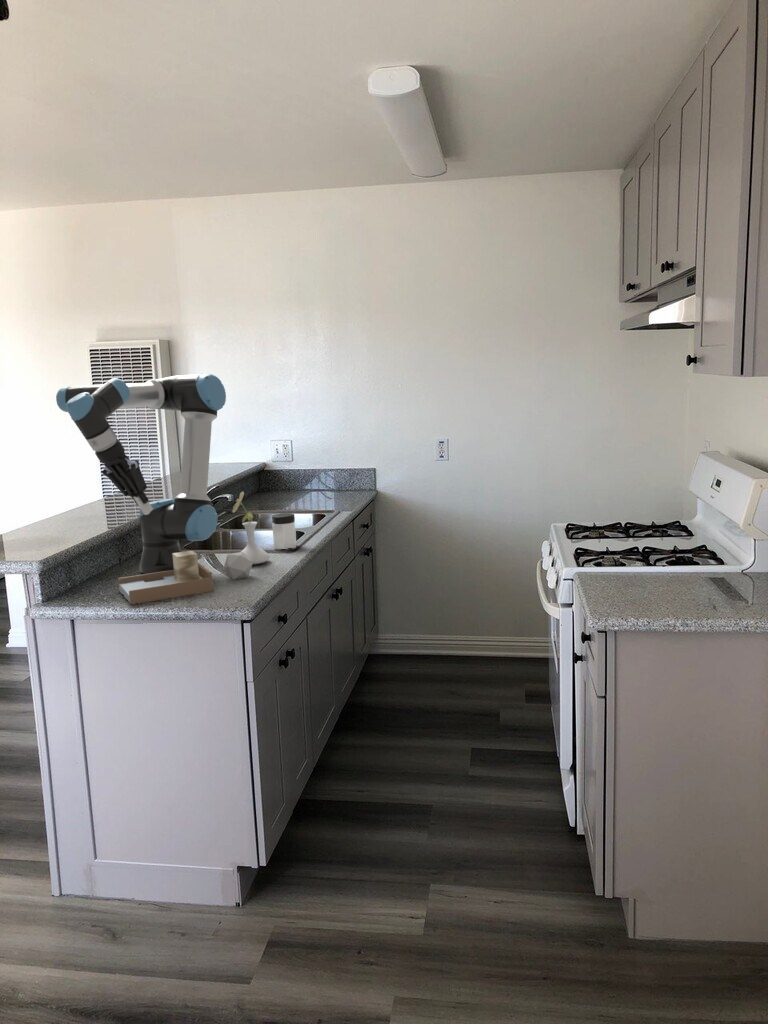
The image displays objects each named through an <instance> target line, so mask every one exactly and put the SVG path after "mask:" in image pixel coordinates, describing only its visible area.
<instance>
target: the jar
mask: <svg viewBox="0 0 768 1024" xmlns="http://www.w3.org/2000/svg"><path fill="white" fill-rule="evenodd" d="M295 519H296V518H295V513H292V512H289V513H288V512H284V513H283V512H281V513H276V514H272V515H271V522H272V524H271V525H272V537H273V538H272V539H273V549H274V550H281V549H286V548H289V547H290V548H292V549H296V548H297V533H296V522H295ZM286 550H287V549H286Z"/></svg>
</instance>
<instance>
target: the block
mask: <svg viewBox="0 0 768 1024" xmlns="http://www.w3.org/2000/svg"><path fill="white" fill-rule="evenodd" d="M172 555H173V566H174V576H175V580H177V581H178V582H185V581H192V580H198V579H199V570H198V563H199V561H198V554H197V553H196V552H195V551H194V550H187V551H182V552H178V553H172Z"/></svg>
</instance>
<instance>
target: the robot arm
mask: <svg viewBox="0 0 768 1024" xmlns="http://www.w3.org/2000/svg"><path fill="white" fill-rule="evenodd" d="M226 393H227V392H226V388H225V386H224V384H223V383H222V381H221V379H220V378H219V377H217V376H216V375H214V374H212V373H211V374H210V373H208V374H207V373H199V374H198V373H197V374H195V373H194V374H184V375H182V374H181V375H178V374H177V375H171V376H167V377H162V378H156V379H149V380H147V381H145V382H138V383H126V382H124V381H123V380H122V379H120V378H116V377H115V378H113V377H112V378H111V379H109V380H106V382H105V383H104V384H94V385H93V384H90V385H68V386H63V387H61V388H60V389H58V390H57V392H56V396H55V397H56V398H55V399H56V400H55V401H56V405H57V407H58V408H59V409H60V410H61V411H62V412H65V413H68V415H69V417H70V419H71V420H72V421H73V422H74V424H75V425H76V427H77V429H78V430H79V431H80V433H81V434H82V436H83V437H84V439H85V440H86V442H87V443H88V445H89V447H90V448H91V449H92V451H94V454H95V456H96V458H97V459H98V460H99V462H100V463H101V464H104V469H103V470H102V471H101V473H102V474H103V476H105V477H107V478H108V479H109V480H110V481H111V483H112V484H113V485H114V486H115V487H116V488H117V489H118V490H119V491H120V492H121V494H122V495H123V496H124V497H127V496H129V497H130V498H132V500H133V501H134V502H135V504H136V505H137V506H138V507H139V522H140V531H141V539H142V541H141V542H142V552H141V558H140V562H139V572H140V573H142V574H149V573H156V572H163V571H169V570H174V566H173V555H172V553H178V552H183V551H182V548H181V545H180V541H190V542H197V541H198V542H200V541H205V540H207V539H209V538H210V537H211V536H212V535H213V534H214V532H215V531H216V529H217V526H218V518H219V517H218V513H217V510H216V509H215V507H214V506H212V500H211V498H210V496H208V483H209V468H210V467H209V466H210V457H211V456H210V453H211V437H212V424H213V422H214V420H216V419H217V417H218V411H220V410H221V409H223V408H224V406H225V404H226V401H227V395H226ZM135 408H137V409H138V408H148V409H151V410H167V411H179V412H180V415H181V416H182V418H183V419H184V427H183V429H184V430H183V431H184V432H183V442H182V455H181V471H180V484H179V485H180V486H179V492H178V494H177V495H176V496H175V497H174V498H166V499H160V500H154V501H150V502H149V498H148V496H147V494H146V493H145V490H146V489H148V486H147V483H146V481H145V479H144V475H143V473H142V471H141V467H140V462H139V460H138V459H136V460H132V459H130V458H129V456H127V454H126V453H125V447H124V446H123V444H122V442H121V441H120V440H119V439H118V437H117V435H116V432H114V430H113V428H112V427H111V424H109V422H108V420H107V418H109V417H110V416H111V415H113V413H115V412H116V411H117V410H120V409H121V410H123V409H135Z"/></svg>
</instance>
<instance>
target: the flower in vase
mask: <svg viewBox="0 0 768 1024" xmlns="http://www.w3.org/2000/svg"><path fill="white" fill-rule="evenodd" d="M244 495H245V492H244V491H241V492H240V493H239V496H238V498H237V499H236V500H235V502H236V503H234V505H233V507H232V508H233V509H232V510H231V512H232V513H233V514H234V513H235V512H237V510H238V508H239V507H240V506H242V508H243V509H244V511H245V513H246V514H245V515H244V516H243V517H242V521H241V523H242V525H243V527H244V528H245V532H246V536H247V545H246V546H245V547H244V548H243V549H242V550H241V551H240V552H243V553H244V554H245V555H246V556H247V557H248V558H249V559H250V560H251V561H252V562H253V564H252V566H253V565H259V564H262V563H266V562H267V561H268V560H269V559H270V555H269V553H267V552H266V551H265V550H264V549H262V548H261V547H260V546H258V545H257V543H256V541H255V530H256V527H257V524H258V522H257V521H251V520H252V519H254V515H253V514H252V511H250V510H249V511H247V508H245V506H244V504H243V503H242V502H243V501H242V500H243V497H244ZM246 520H248V521H246ZM245 521H246V522H245Z"/></svg>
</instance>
